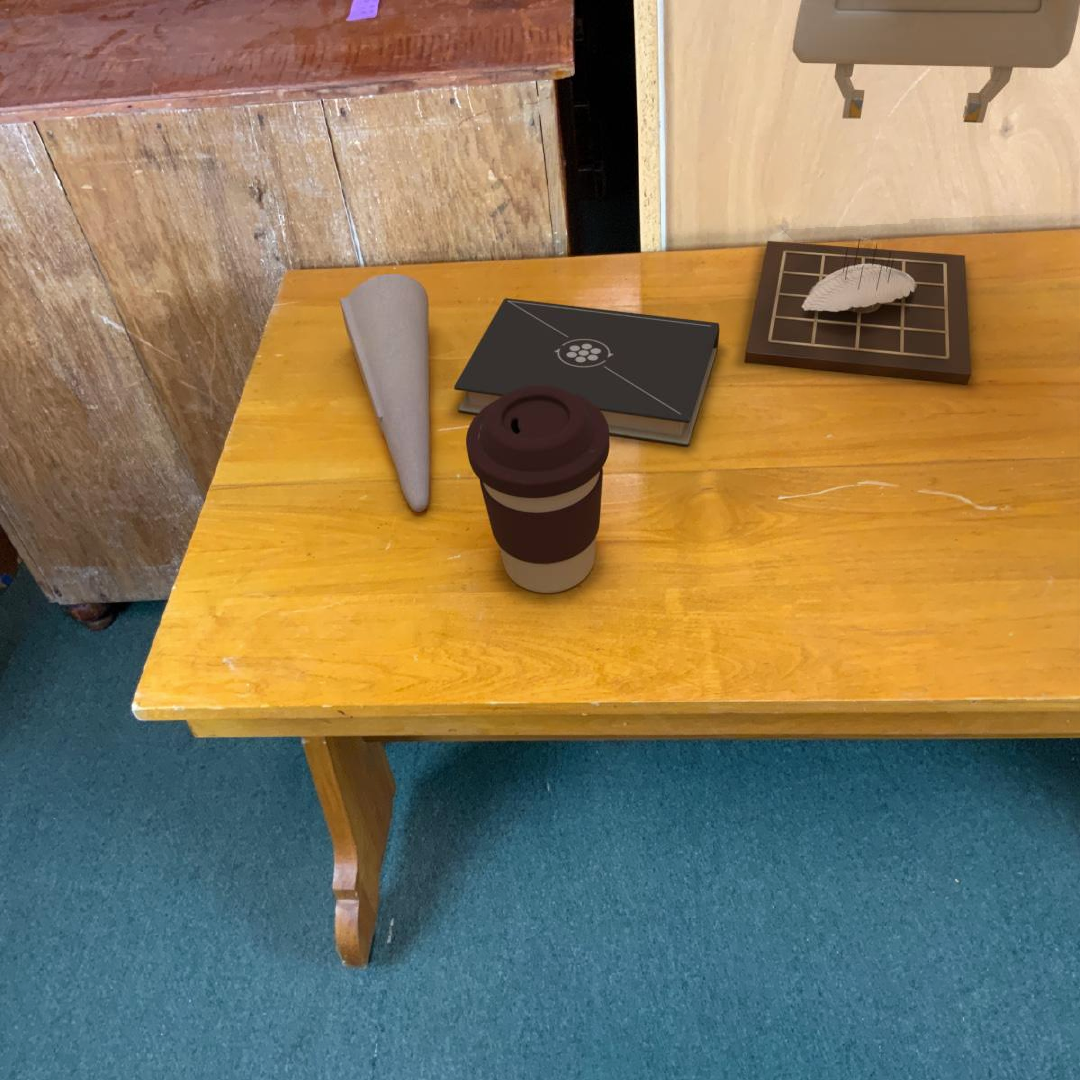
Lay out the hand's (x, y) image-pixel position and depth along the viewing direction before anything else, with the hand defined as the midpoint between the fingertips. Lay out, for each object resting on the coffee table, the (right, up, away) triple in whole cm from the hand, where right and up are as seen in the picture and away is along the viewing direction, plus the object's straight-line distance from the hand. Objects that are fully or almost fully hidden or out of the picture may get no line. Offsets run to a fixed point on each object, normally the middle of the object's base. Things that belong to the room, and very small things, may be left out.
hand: (911, 117), depth 78 cm
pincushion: (+1, -11, +16) cm, 19 cm away
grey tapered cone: (-41, -23, +11) cm, 49 cm away
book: (-26, -19, +13) cm, 35 cm away
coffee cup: (-30, -36, -3) cm, 47 cm away
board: (+1, -12, +17) cm, 21 cm away
